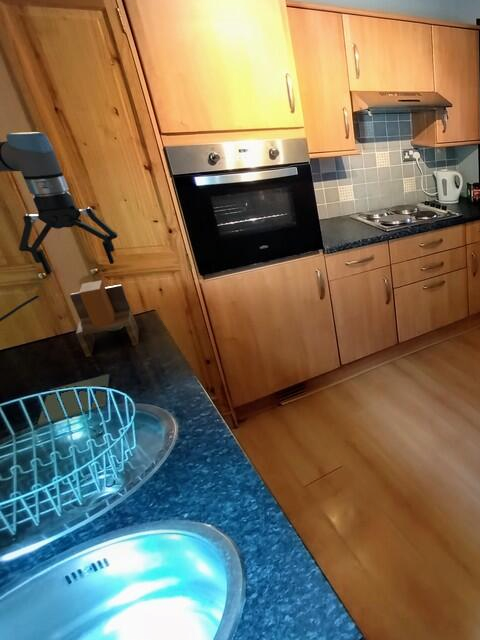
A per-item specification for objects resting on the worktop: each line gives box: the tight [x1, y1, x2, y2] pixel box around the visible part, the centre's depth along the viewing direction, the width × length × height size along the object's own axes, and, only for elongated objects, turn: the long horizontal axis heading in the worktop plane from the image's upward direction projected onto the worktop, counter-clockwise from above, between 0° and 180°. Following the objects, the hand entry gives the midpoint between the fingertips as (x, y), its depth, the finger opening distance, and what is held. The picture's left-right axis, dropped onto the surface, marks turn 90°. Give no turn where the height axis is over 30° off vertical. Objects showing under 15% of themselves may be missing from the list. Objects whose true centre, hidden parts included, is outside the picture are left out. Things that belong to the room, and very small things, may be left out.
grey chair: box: [69, 283, 139, 358], centre depth 136 cm, size 12×12×16 cm
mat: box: [37, 374, 110, 426], centre depth 113 cm, size 16×12×1 cm
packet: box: [78, 279, 115, 327], centre depth 133 cm, size 8×4×11 cm, turn 37°
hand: (81, 267), depth 129 cm, fingers open, 13 cm apart
